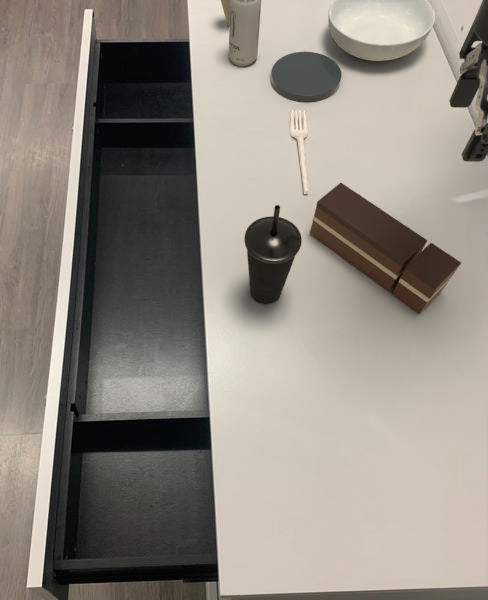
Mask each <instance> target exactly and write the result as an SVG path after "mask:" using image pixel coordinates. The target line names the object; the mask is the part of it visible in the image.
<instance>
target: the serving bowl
mask: <svg viewBox="0 0 488 600" xmlns="http://www.w3.org/2000/svg"><path fill="white" fill-rule="evenodd" d="M327 16H328V17H327V18H328V20H327V21H328V28H329V32H330V35H331V37H332V39H333V40H334V42H335V43H336V44H337V46H339V47H340V48H341V50H343V51H344V52H346V53H348V54H349V55H351V56H353V57H356V58H359V59H362V60H365V61H372V62H385V61H392V60H396V59H399V58H402V57H405V56H406V55H408V54H410V53H412V52H415V50H416V49H418V48H419V47H420V46H421V45H422V44H423V43H425V41H426V39H427V38H428V36H429V35H430V33H431V31H432V30H433V28H434V25H435V22H436V13H435V10H434V7H433V6H432V4H431V3H430V2H429V1H428V0H332V2H331V3H330V5H329V8H328V15H327Z"/></svg>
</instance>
